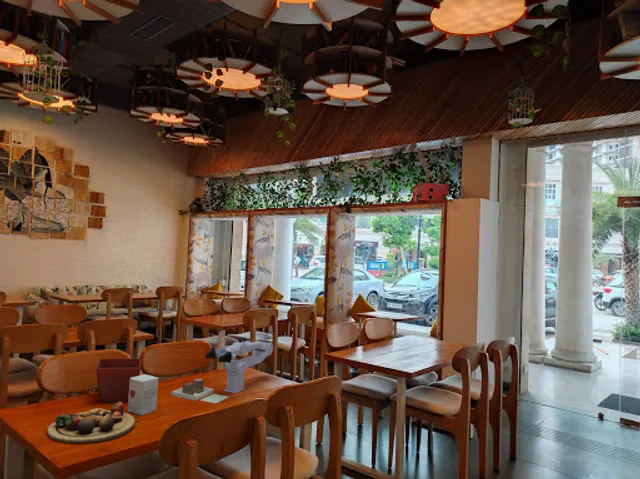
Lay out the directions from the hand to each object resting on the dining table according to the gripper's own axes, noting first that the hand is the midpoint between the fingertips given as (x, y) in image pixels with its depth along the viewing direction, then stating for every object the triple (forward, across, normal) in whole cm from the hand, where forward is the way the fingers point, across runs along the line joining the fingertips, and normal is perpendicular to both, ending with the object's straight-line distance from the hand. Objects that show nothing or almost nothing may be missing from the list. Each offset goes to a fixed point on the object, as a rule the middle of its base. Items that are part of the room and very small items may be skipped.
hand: (212, 358), depth 239 cm
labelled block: (-4, -11, +21) cm, 24 cm away
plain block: (+4, -10, +20) cm, 23 cm away
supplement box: (+30, -14, +20) cm, 39 cm away
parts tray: (0, -10, +21) cm, 24 cm away
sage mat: (-1, +2, +20) cm, 21 cm away
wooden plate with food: (+56, -14, +19) cm, 61 cm away
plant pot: (+24, -36, +22) cm, 48 cm away
